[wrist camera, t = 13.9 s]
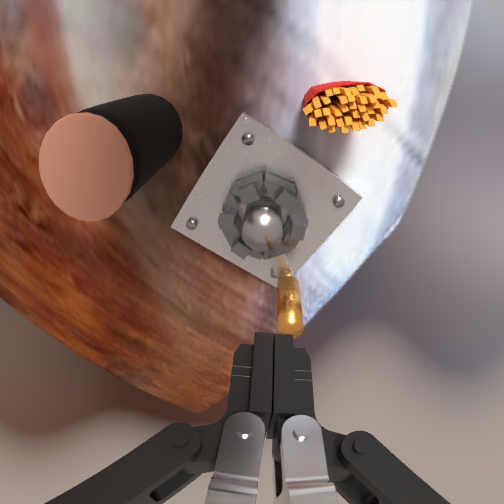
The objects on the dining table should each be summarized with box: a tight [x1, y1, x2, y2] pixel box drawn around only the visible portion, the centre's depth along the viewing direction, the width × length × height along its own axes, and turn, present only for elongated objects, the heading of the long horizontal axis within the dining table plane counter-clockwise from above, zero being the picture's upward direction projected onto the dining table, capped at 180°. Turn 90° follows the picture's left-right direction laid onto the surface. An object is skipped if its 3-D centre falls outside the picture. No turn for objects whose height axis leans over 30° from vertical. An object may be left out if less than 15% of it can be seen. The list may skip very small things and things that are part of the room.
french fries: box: [303, 81, 397, 133], centre depth 30 cm, size 9×4×13 cm, turn 106°
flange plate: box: [171, 111, 362, 288], centre depth 41 cm, size 20×20×8 cm
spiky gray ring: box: [218, 172, 308, 338], centre depth 39 cm, size 17×11×13 cm, turn 22°
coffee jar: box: [39, 94, 182, 222], centre depth 32 cm, size 11×11×18 cm
